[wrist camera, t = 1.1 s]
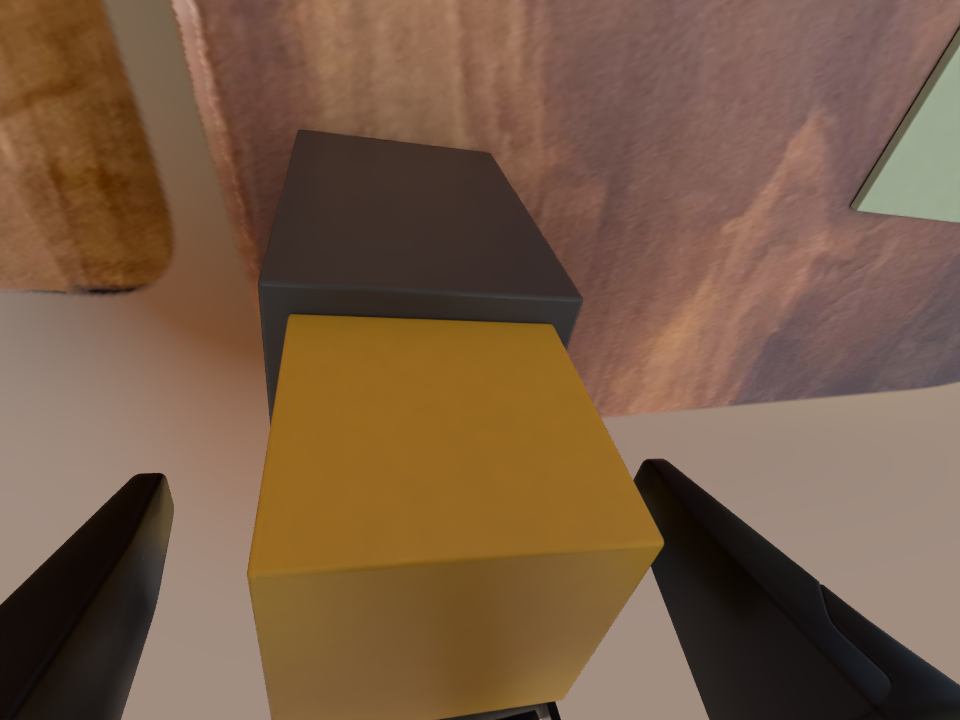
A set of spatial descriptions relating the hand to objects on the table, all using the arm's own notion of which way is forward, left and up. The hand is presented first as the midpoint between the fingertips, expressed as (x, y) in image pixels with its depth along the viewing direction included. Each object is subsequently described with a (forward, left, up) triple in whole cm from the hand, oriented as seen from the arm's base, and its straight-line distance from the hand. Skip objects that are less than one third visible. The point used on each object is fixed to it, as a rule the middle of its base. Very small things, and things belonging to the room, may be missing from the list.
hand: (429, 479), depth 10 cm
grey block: (0, 0, -11) cm, 11 cm away
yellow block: (0, 0, -2) cm, 2 cm away
